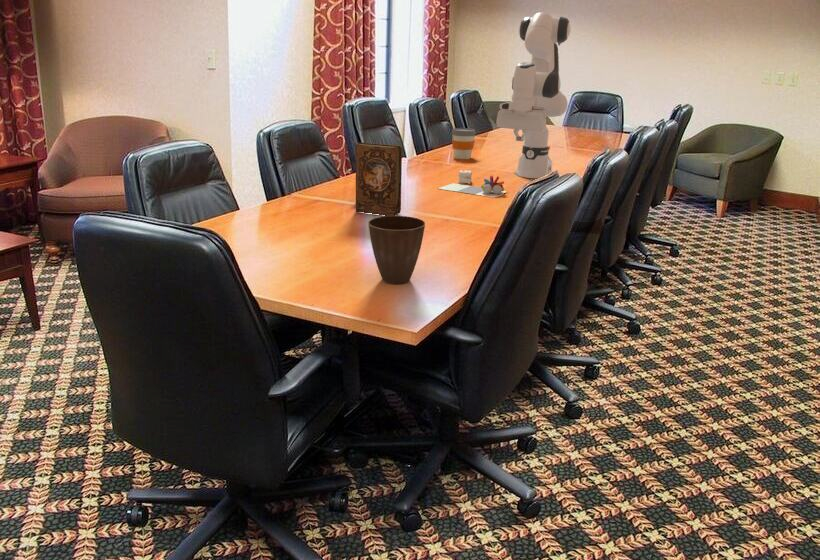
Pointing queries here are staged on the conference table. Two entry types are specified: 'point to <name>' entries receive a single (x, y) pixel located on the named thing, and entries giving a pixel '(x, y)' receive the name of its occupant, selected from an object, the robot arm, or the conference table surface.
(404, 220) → the plant pot
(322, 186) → the conference table surface
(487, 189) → the rainbow segmented toy
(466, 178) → the die
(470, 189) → the game mat
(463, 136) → the reusable coffee cup
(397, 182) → the book
